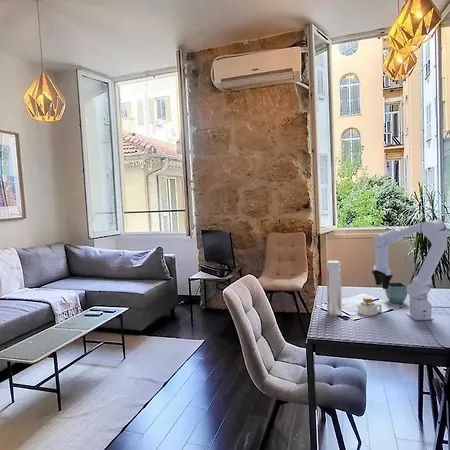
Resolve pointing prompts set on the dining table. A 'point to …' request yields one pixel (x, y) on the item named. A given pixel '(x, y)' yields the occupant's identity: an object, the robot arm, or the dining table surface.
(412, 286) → the robot arm
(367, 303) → the plunger
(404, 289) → the flower pot
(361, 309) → the press carafe
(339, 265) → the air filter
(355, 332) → the dining table surface
